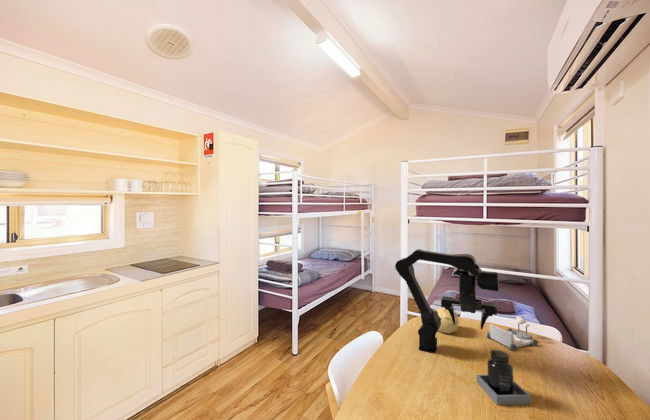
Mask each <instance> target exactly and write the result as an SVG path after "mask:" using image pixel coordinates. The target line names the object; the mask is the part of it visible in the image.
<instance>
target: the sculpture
mask: <svg viewBox="0 0 650 420" xmlns="http://www.w3.org/2000/svg"><path fill="white" fill-rule="evenodd" d="M436 310H437V312H438V315H439V317H440V318H441V326H440V328H439V330H438V332H441V333H444V334H453V333H454V332H456V331H457V330H458V328H459V316H458V314H457V312H456V311H455V310H454V315H455V325H454V323H453V320H452V317H451V315H450V313H449V311H448V310H446V309H445V307H440V308H437V309H435V310H434V311H436Z"/></svg>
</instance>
